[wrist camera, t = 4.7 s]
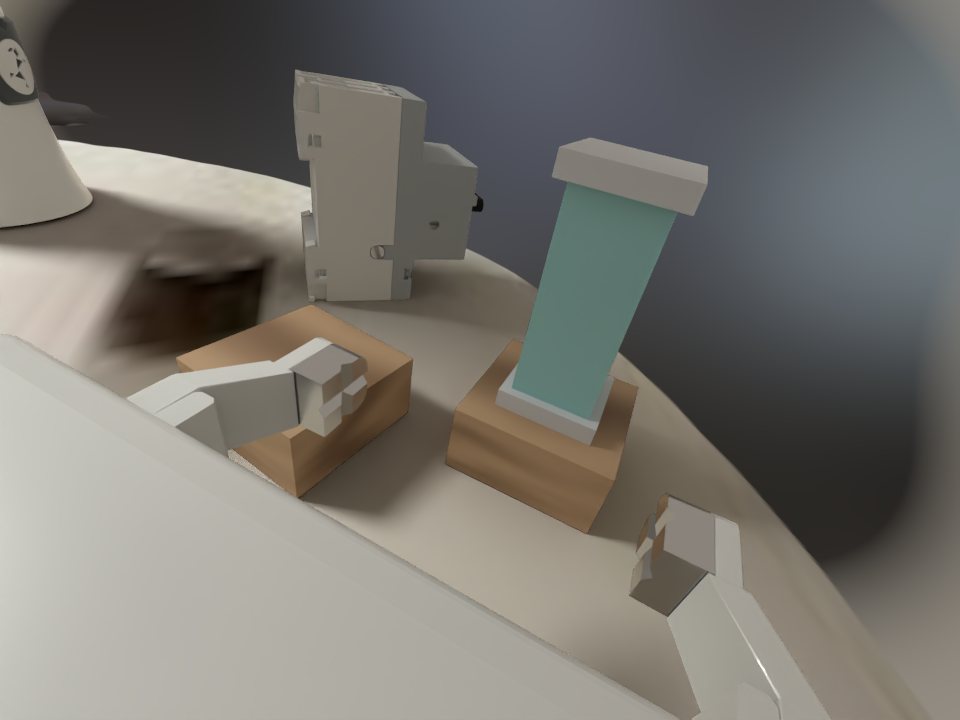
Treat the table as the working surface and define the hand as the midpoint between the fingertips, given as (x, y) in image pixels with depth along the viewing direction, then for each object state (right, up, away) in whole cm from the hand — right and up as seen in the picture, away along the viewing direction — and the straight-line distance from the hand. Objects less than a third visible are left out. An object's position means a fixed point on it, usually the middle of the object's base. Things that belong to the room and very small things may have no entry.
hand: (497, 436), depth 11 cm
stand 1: (-10, -1, +13) cm, 17 cm away
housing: (+4, 0, +12) cm, 13 cm away
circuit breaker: (-9, +9, +29) cm, 32 cm away
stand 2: (+3, -3, +14) cm, 15 cm away
